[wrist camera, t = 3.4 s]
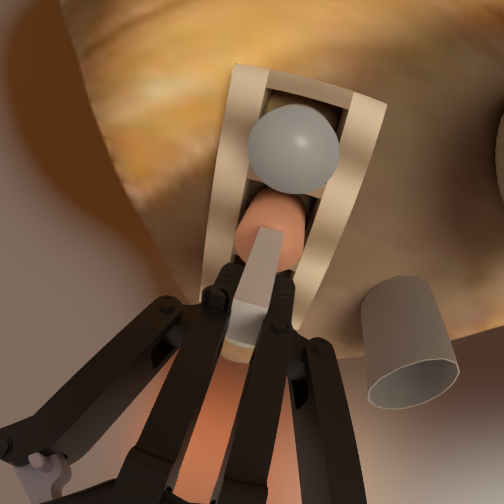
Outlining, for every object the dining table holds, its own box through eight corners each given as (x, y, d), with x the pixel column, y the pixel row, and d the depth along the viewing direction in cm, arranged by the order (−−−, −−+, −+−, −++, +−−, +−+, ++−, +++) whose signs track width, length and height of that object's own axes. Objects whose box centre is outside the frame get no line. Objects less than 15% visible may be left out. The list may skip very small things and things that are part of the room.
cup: (442, 277, 23) (475, 354, 14) (418, 332, 27) (434, 404, 19) (368, 274, 24) (383, 361, 16) (353, 332, 29) (356, 410, 21)
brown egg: (256, 178, 20) (240, 204, 16) (312, 194, 20) (312, 224, 16) (245, 228, 23) (229, 262, 19) (297, 242, 23) (292, 279, 19)
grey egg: (271, 96, 15) (257, 96, 11) (339, 114, 15) (350, 121, 11) (257, 158, 18) (240, 181, 14) (321, 176, 18) (324, 204, 13)
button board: (244, 67, 17) (234, 63, 14) (376, 102, 16) (387, 104, 14) (208, 282, 29) (199, 301, 26) (300, 308, 28) (298, 330, 26)
